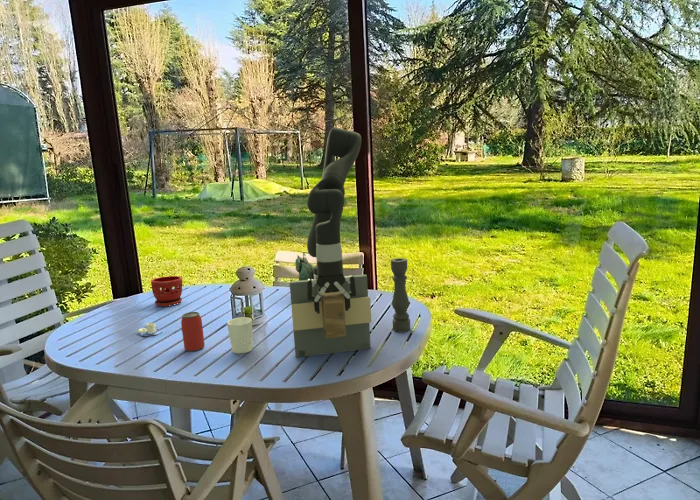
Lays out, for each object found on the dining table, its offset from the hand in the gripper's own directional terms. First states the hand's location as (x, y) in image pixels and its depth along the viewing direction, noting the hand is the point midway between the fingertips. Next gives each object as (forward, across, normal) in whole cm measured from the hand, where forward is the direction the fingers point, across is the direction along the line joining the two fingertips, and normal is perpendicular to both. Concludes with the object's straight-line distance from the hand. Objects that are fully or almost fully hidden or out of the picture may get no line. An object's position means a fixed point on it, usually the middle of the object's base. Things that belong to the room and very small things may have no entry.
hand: (332, 311), depth 145 cm
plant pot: (+17, -65, +85) cm, 109 cm away
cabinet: (+7, 0, 0) cm, 7 cm away
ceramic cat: (+16, -2, +75) cm, 77 cm away
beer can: (+16, -45, +25) cm, 54 cm away
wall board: (+16, 0, +9) cm, 18 cm away
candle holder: (+16, +26, +21) cm, 37 cm away
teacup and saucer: (+17, -64, +49) cm, 82 cm away
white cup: (+16, -29, +18) cm, 38 cm away
